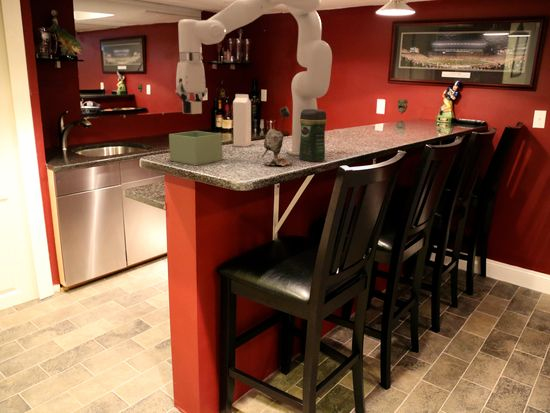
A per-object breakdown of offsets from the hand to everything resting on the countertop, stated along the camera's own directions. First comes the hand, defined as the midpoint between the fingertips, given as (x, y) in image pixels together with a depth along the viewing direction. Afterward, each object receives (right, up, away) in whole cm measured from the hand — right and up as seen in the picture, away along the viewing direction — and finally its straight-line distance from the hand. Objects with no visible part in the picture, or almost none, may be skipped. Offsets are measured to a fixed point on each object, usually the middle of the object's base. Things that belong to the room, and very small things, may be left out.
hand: (192, 112), depth 158 cm
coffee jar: (+43, -16, +8) cm, 47 cm away
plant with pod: (+30, -19, -1) cm, 35 cm away
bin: (+1, -17, +4) cm, 17 cm away
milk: (+15, -7, +40) cm, 43 cm away
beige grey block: (0, 0, 0) cm, 0 cm away
